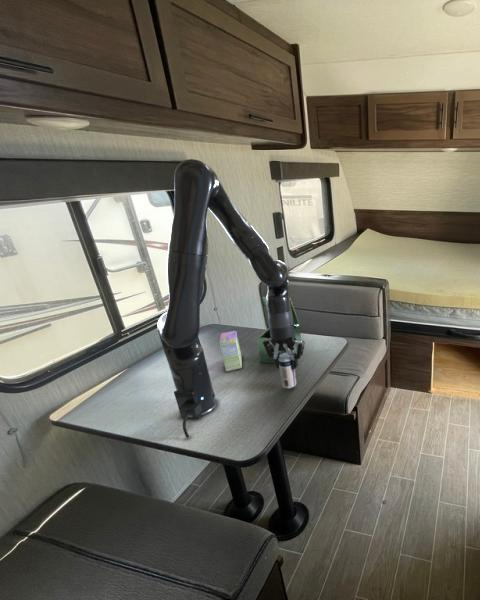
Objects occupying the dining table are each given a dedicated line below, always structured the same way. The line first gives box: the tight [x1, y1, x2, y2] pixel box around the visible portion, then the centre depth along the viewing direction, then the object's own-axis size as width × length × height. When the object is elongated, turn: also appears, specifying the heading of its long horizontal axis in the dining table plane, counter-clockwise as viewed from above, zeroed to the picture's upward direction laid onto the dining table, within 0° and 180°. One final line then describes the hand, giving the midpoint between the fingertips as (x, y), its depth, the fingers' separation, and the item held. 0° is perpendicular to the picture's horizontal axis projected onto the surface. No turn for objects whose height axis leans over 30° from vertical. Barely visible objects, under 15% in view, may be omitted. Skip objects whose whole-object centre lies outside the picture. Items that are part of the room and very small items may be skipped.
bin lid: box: [261, 296, 300, 325], centre depth 133 cm, size 14×12×5 cm
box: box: [218, 330, 243, 372], centre depth 126 cm, size 10×6×12 cm, turn 25°
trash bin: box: [256, 324, 302, 364], centre depth 132 cm, size 14×12×11 cm
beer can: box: [278, 353, 297, 390], centre depth 111 cm, size 5×5×12 cm
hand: (287, 367), depth 110 cm, fingers closed on beer can, 4 cm apart
